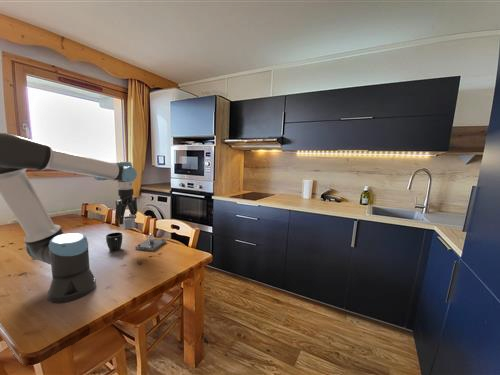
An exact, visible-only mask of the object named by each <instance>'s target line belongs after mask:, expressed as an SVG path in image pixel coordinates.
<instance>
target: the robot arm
mask: <svg viewBox="0 0 500 375" xmlns="http://www.w3.org/2000/svg"><path fill="white" fill-rule="evenodd" d="M28 169H29V170H37V171H44V170H46V169H47V170H55V171H58V172H66V173H72V174H77V175H85V176H90V177H93V178H94V179H95V180H96V181H114V182H115V181H116V182H117V189H118V190H117V191H118V192H117V193H118V194H117V195H118V196H119V200H115V219H118V223H119V230H124V231H126V230H125V218H124V217H125V213H126V208H127V207H128V209H129V213H130V214H129V216H134V217H135V218H136V215H137V213H138V205H137V197H136V196H134V194H135V193H134V189H133V188H134V183H133V182H134V181H135V180H136V179H137V175H138V173H137V170H136V169H135V168H134V167H133V163H132V162H131V161H117V162H116V163H113V162H108V161H104V160H99V159H96V158H92V157H87V156H83V155H79V154H76V153H71V152H67V151H62V150H58V149H56V148H55V149H54V148H52V147H51V146H50V145H49V144H46V143H43V142H38V141H37V140H32V139H30V138H29V139H28V138H25V137H22V136H20V135H19V136H18V135H16V134H11V133H6V132H0V195H1V196H2V198H3V200H4V202H5V203H6V204H7V206H8V208H9V209H10V210H11V212H12V214H13V216H14V217H15V219H16V220H17V222H18V223H19V225H20V226H21V229H22V230H23V231H24V233H25V236H24V238H23V241H24V244H25V251H26V253H27V255H28V256H29V257H30V258H31V259H32V260H33V259H34V260H36V261H40V262H42V263H45V264H48V265H50V266H51V276H52V278H51V283H50V286H49V289H48V292H47V299H48V301H49V302H51V303H53V304H54V303H55V304H60V303H68V302H71V301H75V300H77V299H80V298H83V297H84V296H86V295H89V293H91V292H92V291H94V289H96V287H97V282H96V277H95V276H94V274H93V272H92V270H91V268H90V258H89V257H90V255H89V241H88V239H87V236H86V235H84V234H83V233H80V232H79V233H78V232H74V233H72V232H70V233H69V232H68V233H64V231H63V228H62V227H61V225H59V224H55V223H54V222H53V220H52V218H51V217H50V215H49V213H48V211H47V210H46V207H45V205H44V203H43V202H42V200H41V199H40V197H39V195H38V193H37V191H36V189H35V188H34V185H33V184H32V182H31V180H30V179H29V177H28V175H27V172H26V171H27V170H28Z"/></svg>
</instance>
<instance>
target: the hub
mask: <svg viewBox="0 0 500 375" xmlns="http://www.w3.org/2000/svg"><path fill="white" fill-rule="evenodd" d="M124 218H125V230H124V231H127V230H132V229H134V228H136V221H135V220H136V216H135V217H134V216H130V215H128V216H127V215H126V216H125V215H124Z"/></svg>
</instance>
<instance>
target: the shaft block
mask: <svg viewBox="0 0 500 375" xmlns="http://www.w3.org/2000/svg"><path fill="white" fill-rule="evenodd" d="M154 236H155V235H154V234H153V233H152V232H151V233H149V234H148V238H147V239H146V240H144V241H143V242H141V243H139V244H137V245H135V250H138V251H146V252H147V251H149V252H150V251H151V252H155V251H156V250H157V249H160V247H162V246H163V245H165V244H166V243H167V239H164V238H155V237H154ZM164 243H165V244H164Z"/></svg>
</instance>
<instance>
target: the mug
mask: <svg viewBox="0 0 500 375" xmlns="http://www.w3.org/2000/svg"><path fill="white" fill-rule="evenodd" d="M105 240H106V244H107V248H108V250H109V251H110V252H113V253H114V252H117V251H120V250H121V248H122V244H123V233H122V232H119V231H118V232H111V233H108V234H106V235H105Z"/></svg>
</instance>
